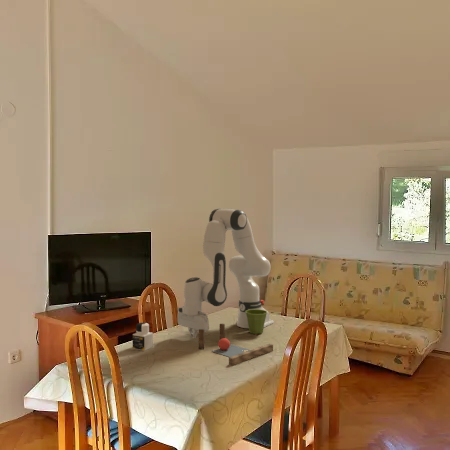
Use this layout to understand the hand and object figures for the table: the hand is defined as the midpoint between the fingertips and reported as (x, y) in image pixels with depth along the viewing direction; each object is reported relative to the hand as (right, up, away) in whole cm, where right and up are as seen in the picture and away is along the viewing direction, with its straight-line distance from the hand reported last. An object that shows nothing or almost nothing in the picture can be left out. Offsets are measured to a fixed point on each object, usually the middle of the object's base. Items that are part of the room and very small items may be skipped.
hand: (193, 336), depth 254 cm
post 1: (+5, -3, -14) cm, 15 cm away
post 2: (+15, -2, -3) cm, 15 cm away
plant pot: (+33, -1, +14) cm, 36 cm away
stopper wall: (+28, -3, -27) cm, 39 cm away
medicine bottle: (-24, -3, -12) cm, 27 cm away
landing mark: (+20, -3, -18) cm, 27 cm away
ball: (+16, 0, -16) cm, 23 cm away
